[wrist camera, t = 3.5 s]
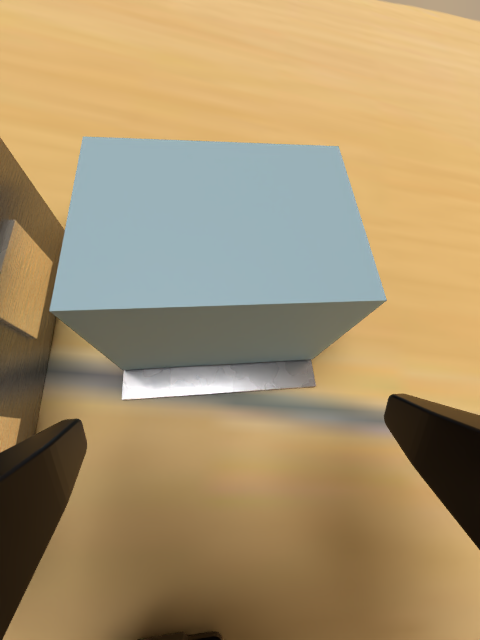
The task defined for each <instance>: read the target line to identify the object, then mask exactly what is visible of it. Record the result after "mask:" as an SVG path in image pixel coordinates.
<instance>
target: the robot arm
mask: <svg viewBox="0 0 480 640" xmlns="http://www.w3.org/2000/svg"><path fill="white" fill-rule="evenodd" d="M384 420H385V423H386V426H387V427H388V429H389V430H390V432H391V433H392V435H393V436H394V438H395V439H396V441H397V442H398V444H399V445H400V447H401V449H402V450H403V452H404V453H405V455H406V456H407V458H408V459H409V461H410V462H411V464H412V465H413V466H414V468H415V469H416V470H417V472H418V473H419V474H420V475H421V477H422V478H423V479H424V480H425V482H426V483H427V484H428V486H429V487H430V488H431V489H432V491H433V492H434V493H435V494H436V496H437V497H438V498H439V499H440V501H441V502H442V503H443V504H444V506H445V507H446V508H447V509H448V511H449V512H450V513H451V514H452V516H453V517H454V518H455V519H456V521H457V522H458V523H459V525H460V526H461V527H462V528H463V530H464V531H465V532H466V533H467V535H468V536H469V537H470V538H471V540H472V541H473V542H474V543H475V545H476V546H477V547H478V548H479V550H480V415H476V414H473V413H469V412H466V411H462V410H459V409H455V408H452V407H448V406H445V405H441V404H438V403H435V402H431V401H428V400H424V399H421V398H417V397H414V396H410V395H407V394H392V395H390V396H389V398H388V402H387V406H386V410H385V414H384ZM86 450H87V440H86V437H85V433H84V429H83V425H82V422H81V420H79V419H67V420H63V421H61V422H59V423H57V424H55V425H53V426H51V427H49V428H47V429H45V430H43V431H41V432H39V433H37V434H35V435H33V436H31V437H30V438H28V439H26V440H24V441H22V442H20V443H18V444H16V445H14V446H12V447H10V448H8V449H6V450H4V451H2V452H1V453H0V640H2V639H3V637H4V635H5V633H6V631H7V629H8V626H9V624H10V622H11V620H12V618H13V616H14V614H15V612H16V610H17V608H18V606H19V604H20V602H21V599H22V597H23V595H24V593H25V591H26V589H27V587H28V585H29V583H30V581H31V579H32V577H33V575H34V572H35V570H36V568H37V566H38V564H39V562H40V560H41V558H42V556H43V554H44V552H45V550H46V548H47V545H48V543H49V541H50V539H51V537H52V535H53V533H54V531H55V529H56V527H57V525H58V523H59V521H60V518H61V516H62V514H63V512H64V510H65V508H66V506H67V503H68V501H69V498H70V496H71V493H72V490H73V487H74V484H75V482H76V479H77V476H78V473H79V470H80V468H81V465H82V462H83V459H84V456H85V454H86ZM138 640H223V638H222V636H221V635H220V634H219V633H218V632H209V633H203V634H197V635H191V636H187V635H186V634H185V633H184V632H179V633H173V634H167V635H161V636H156V637H150V638H144V639H138Z"/></svg>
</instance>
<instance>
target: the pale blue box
mask: <svg viewBox="0 0 480 640" xmlns="http://www.w3.org/2000/svg"><path fill="white" fill-rule="evenodd" d="M385 301H387V300H386V296H385V293H384V290H383V287H382V284H381V280H380V277H379V274H378V271H377V268H376V264H375V261H374V258H373V255H372V252H371V249H370V245H369V242H368V239H367V236H366V233H365V229H364V226H363V223H362V220H361V217H360V213H359V210H358V207H357V204H356V201H355V197H354V194H353V191H352V188H351V185H350V182H349V178H348V175H347V172H346V169H345V166H344V162H343V159H342V156H341V153H340V150H339V146H315V145H289V144H263V143H237V142H210V141H184V140H158V139H131V138H105V137H83V140H82V145H81V150H80V155H79V160H78V166H77V171H76V176H75V181H74V186H73V192H72V197H71V202H70V207H69V212H68V217H67V223H66V228H65V233H64V238H63V243H62V248H61V254H60V259H59V264H58V269H57V274H56V280H55V285H54V290H53V295H52V300H51V305H50V312H51V313H52V314H54V315H55V316H56V317H57V318H59V319H60V320H61V321H62V322H64V323H65V324H66V325H67V326H69V327H70V328H71V329H72V330H73V331H75V332H76V333H77V334H78V335H80V336H81V337H82V338H83V339H85V340H86V341H87V342H88V343H90V344H91V345H92V346H93V347H95V348H96V349H97V350H98V351H100V352H101V353H102V354H103V355H105V356H106V357H107V358H108V359H110V360H111V361H112V362H113V363H115V364H116V365H117V366H118V367H120V368H121V369H122V370H132V369H150V368H167V367H185V366H202V365H220V364H237V363H255V362H272V361H290V360H308V359H313V358H315V357H316V356H317V355H318V354H320V353H321V352H322V351H323V350H325V349H326V348H327V347H328V346H330V345H331V344H332V343H334V342H335V341H336V340H337V339H339V338H340V337H341V336H342V335H344V334H345V333H346V332H347V331H349V330H350V329H351V328H352V327H354V326H355V325H356V324H358V323H359V322H360V321H361V320H363V319H364V318H365V317H366V316H368V315H369V314H370V313H371V312H373V311H374V310H375V309H376V308H378V307H379V306H380V305H382V304H383V303H384V302H385Z"/></svg>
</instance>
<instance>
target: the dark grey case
mask: <svg viewBox="0 0 480 640" xmlns="http://www.w3.org/2000/svg"><path fill="white" fill-rule="evenodd" d="M64 233H65V230H64V229H63V227H62V226H61V224H60V223H59V222H58V220H57V219H56V217H55V216H54V214H53V213H52V211H51V210H50V209H49V207H48V206H47V204H46V203H45V201H44V200H43V198H42V197H41V196H40V194H39V193H38V191H37V190H36V188H35V187H34V185H33V184H32V183H31V181H30V180H29V178H28V177H27V175H26V174H25V172H24V171H23V170H22V168H21V167H20V165H19V164H18V162H17V161H16V160H15V158H14V157H13V155H12V154H11V152H10V151H9V149H8V148H7V147H6V145H5V144H4V142H3V141H2V139H1V138H0V453H1V452H2V451H4V450H6V449H8V448H10V447H12V446H14V445H16V444H18V443H20V442H22V441H24V440H26V439H28V438H30V437H31V436H33V435H35V431H36V425H37V420H38V414H39V409H40V403H41V398H42V392H43V387H44V381H45V376H46V370H47V365H48V359H49V354H50V348H51V343H52V337H53V332H54V326H55V321H56V316H55V315H54V314H52V313H51V312H50V305H51V300H52V295H53V290H54V285H55V280H56V274H57V269H58V264H59V259H60V254H61V248H62V243H63V238H64ZM315 386H316V384H315V379H314V373H313V368H312V362H311V359H308V360H290V361H272V362H255V363H237V364H220V365H202V366H185V367H167V368H150V369H132V370H124V376H123V389H122V400H133V399H147V398H161V397H176V396H190V395H204V394H219V393H233V392H248V391H262V390H276V389H291V388H305V387H315Z"/></svg>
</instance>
